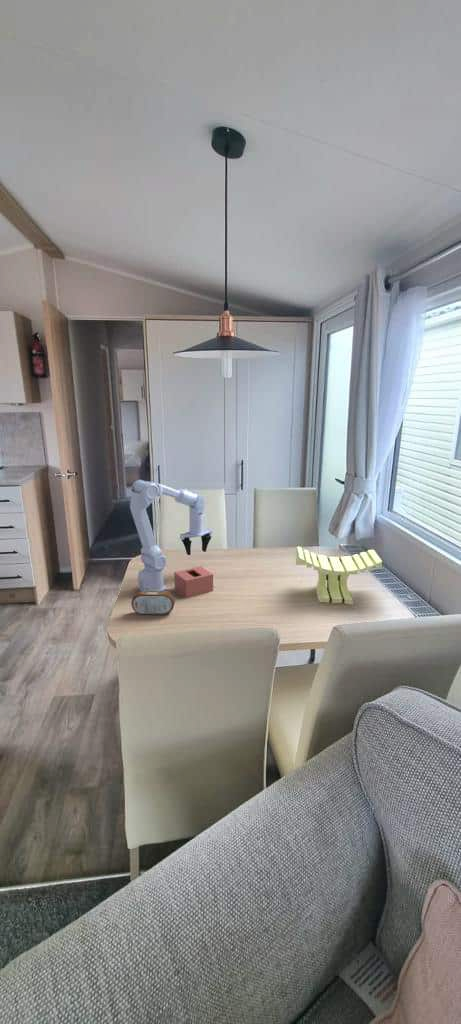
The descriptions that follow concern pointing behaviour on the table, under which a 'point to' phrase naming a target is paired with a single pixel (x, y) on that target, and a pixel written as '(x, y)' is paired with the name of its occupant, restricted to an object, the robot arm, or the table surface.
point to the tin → (153, 602)
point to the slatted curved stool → (336, 572)
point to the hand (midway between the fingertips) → (196, 552)
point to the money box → (193, 581)
